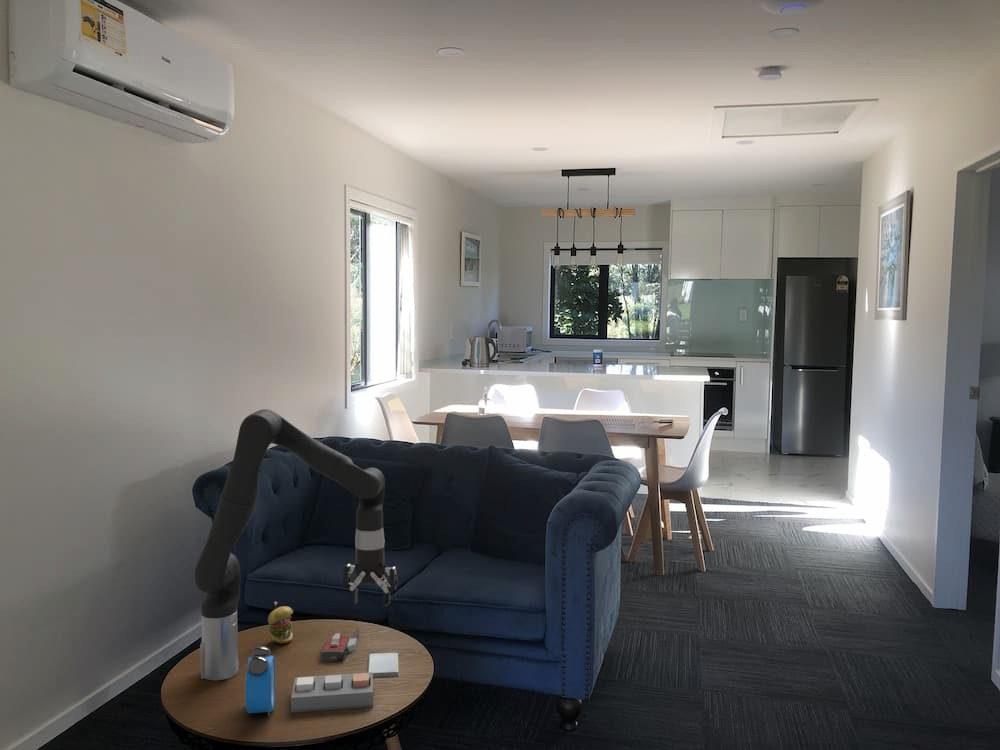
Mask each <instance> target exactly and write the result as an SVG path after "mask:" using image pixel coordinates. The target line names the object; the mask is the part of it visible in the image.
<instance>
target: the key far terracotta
mask: <svg viewBox="0 0 1000 750" xmlns="http://www.w3.org/2000/svg"><path fill="white" fill-rule="evenodd" d="M360 673H361V674H353V688H354V687H369V673H367V672H360Z"/></svg>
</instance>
